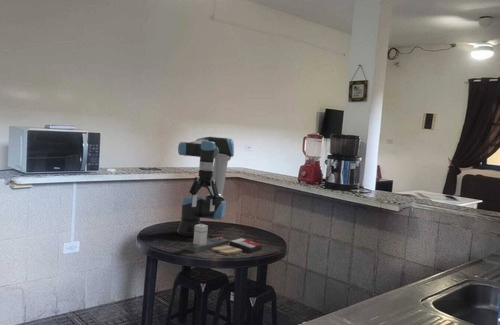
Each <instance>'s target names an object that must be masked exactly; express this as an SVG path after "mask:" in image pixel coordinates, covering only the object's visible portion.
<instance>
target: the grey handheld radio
mask: <svg viewBox="0 0 500 325" xmlns="http://www.w3.org/2000/svg"><path fill="white" fill-rule="evenodd" d="M229 243H230V240H229V239H226V238H224V237H223V236H222V237H218V236H217V237H213V238H212V237H211V238H207V243H206V245H202V246H199V245H196V244H193V241H192V242H189V243H185V245H184V251H185V250H186V251H187V252H192V253H195V254H198V253H201V252H206V251H210V250H211V248H213V247H218V246H222V245H229ZM211 251H212V250H211Z"/></svg>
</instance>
